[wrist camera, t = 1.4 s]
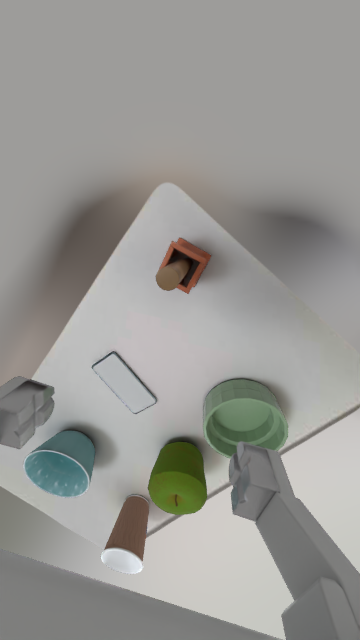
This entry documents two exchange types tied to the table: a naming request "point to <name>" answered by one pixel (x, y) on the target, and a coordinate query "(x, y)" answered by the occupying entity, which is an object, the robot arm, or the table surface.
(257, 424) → the green round dish
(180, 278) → the stirring stick
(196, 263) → the utensil holder
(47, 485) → the bowl
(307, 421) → the table surface
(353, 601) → the robot arm
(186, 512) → the apple
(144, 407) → the smartphone
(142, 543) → the coffee cup
